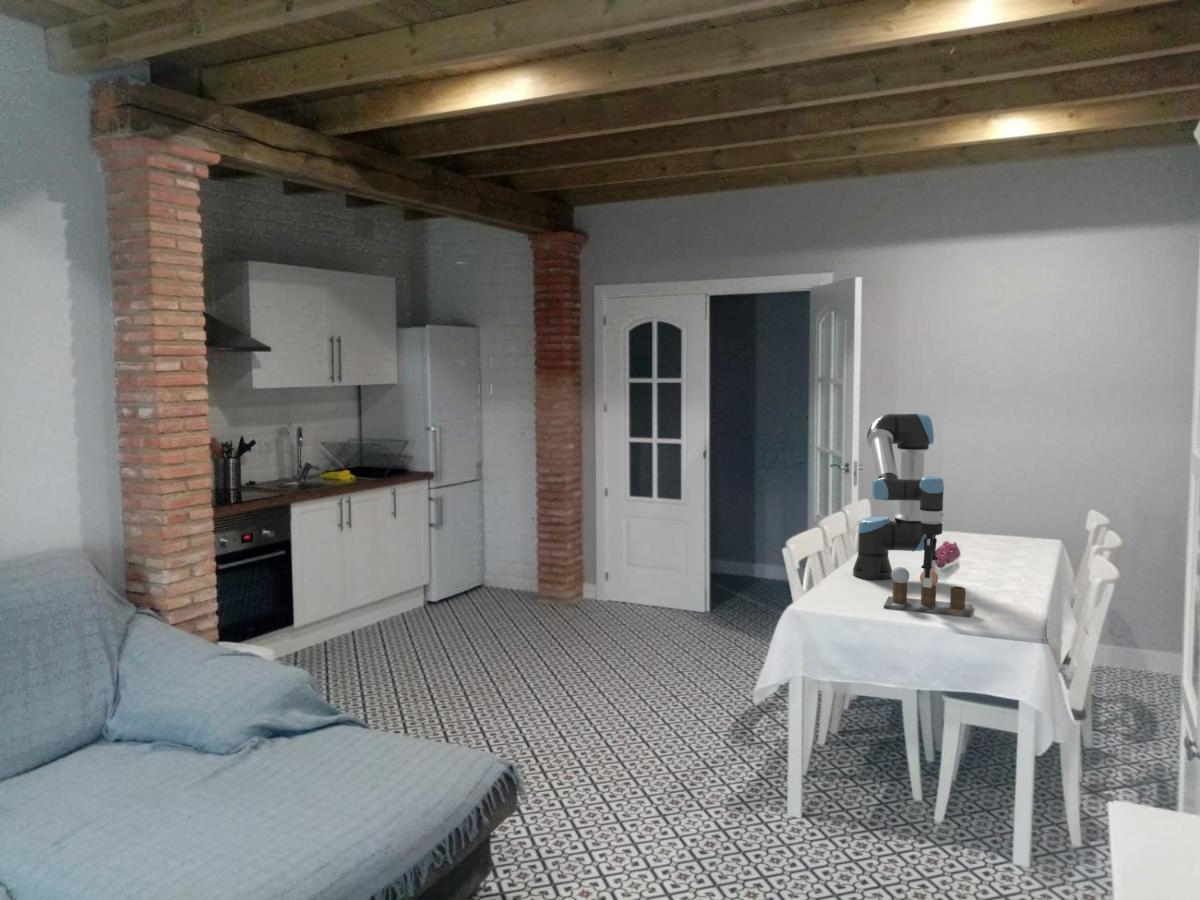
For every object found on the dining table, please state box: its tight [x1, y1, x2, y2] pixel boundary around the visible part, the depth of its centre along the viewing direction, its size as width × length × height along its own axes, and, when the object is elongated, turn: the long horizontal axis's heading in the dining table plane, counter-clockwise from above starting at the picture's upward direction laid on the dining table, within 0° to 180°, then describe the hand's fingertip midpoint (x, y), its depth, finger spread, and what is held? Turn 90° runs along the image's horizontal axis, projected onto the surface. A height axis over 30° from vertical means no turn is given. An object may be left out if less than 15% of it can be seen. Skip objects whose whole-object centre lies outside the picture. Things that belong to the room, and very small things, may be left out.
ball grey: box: [891, 566, 910, 584], centre depth 321 cm, size 6×6×6 cm
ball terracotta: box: [919, 570, 939, 586], centre depth 317 cm, size 6×6×6 cm
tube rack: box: [883, 581, 973, 618], centre depth 318 cm, size 28×13×8 cm, turn 65°
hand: (929, 582), depth 317 cm, fingers open, 13 cm apart
